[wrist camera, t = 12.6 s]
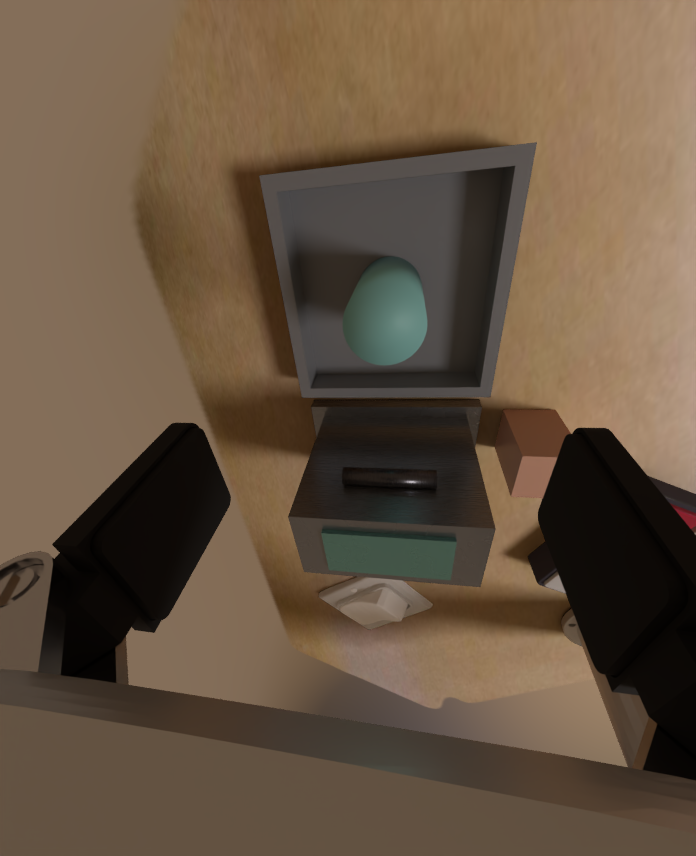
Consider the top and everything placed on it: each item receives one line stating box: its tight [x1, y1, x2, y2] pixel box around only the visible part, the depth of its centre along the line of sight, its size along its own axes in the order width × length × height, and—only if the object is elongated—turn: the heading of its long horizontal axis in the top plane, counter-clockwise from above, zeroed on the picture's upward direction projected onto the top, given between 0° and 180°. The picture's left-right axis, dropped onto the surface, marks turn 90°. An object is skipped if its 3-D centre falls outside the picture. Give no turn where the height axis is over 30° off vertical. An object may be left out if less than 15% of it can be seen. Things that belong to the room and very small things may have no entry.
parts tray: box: [259, 142, 537, 398], centre depth 22 cm, size 14×14×3 cm
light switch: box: [319, 577, 433, 630], centre depth 48 cm, size 11×4×13 cm
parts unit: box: [288, 400, 495, 587], centre depth 26 cm, size 14×8×12 cm, turn 95°
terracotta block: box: [495, 409, 571, 498], centre depth 26 cm, size 4×4×6 cm
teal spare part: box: [343, 256, 427, 365], centre depth 20 cm, size 4×4×7 cm
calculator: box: [528, 476, 696, 594], centre depth 33 cm, size 11×4×15 cm
